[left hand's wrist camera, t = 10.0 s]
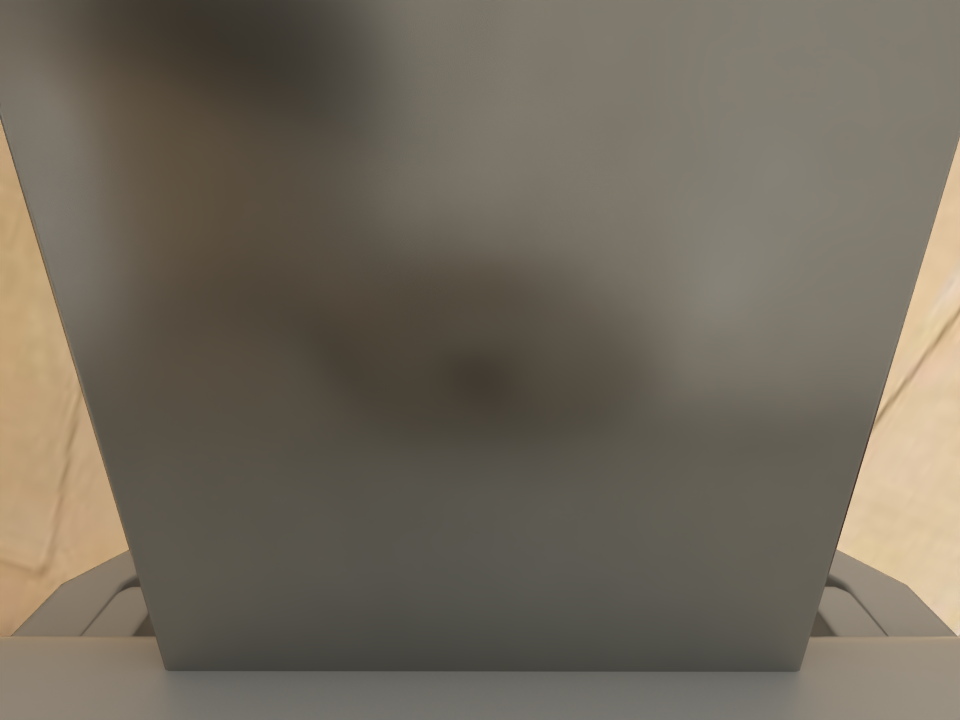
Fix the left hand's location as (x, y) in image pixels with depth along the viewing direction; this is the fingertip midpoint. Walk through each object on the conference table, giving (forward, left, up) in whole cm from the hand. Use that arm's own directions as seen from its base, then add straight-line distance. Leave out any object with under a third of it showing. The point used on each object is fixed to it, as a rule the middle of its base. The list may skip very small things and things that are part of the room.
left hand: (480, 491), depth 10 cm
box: (+1, +8, -3) cm, 8 cm away
